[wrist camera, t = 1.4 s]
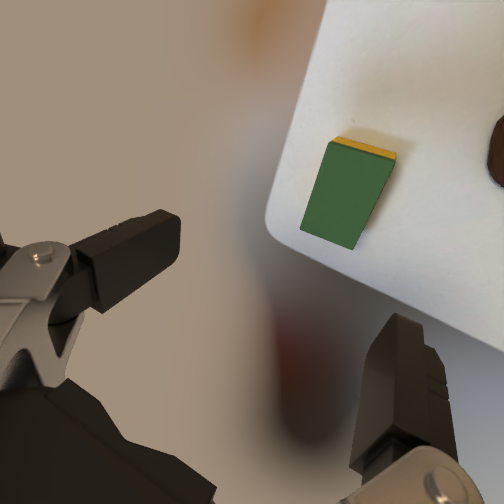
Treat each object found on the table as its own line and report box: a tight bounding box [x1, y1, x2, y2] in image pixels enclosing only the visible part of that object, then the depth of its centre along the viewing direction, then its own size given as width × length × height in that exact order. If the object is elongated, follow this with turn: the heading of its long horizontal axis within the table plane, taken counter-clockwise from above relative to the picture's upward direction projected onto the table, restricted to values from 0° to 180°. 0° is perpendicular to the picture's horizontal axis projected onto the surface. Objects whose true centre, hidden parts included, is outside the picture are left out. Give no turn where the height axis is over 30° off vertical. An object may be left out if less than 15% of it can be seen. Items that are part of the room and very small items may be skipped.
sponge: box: [300, 137, 396, 250], centre depth 22 cm, size 4×7×4 cm, turn 168°
